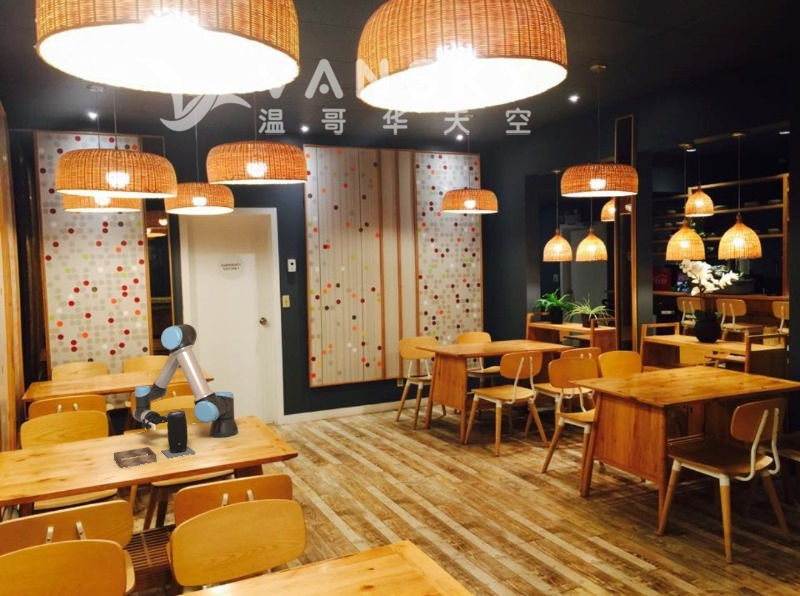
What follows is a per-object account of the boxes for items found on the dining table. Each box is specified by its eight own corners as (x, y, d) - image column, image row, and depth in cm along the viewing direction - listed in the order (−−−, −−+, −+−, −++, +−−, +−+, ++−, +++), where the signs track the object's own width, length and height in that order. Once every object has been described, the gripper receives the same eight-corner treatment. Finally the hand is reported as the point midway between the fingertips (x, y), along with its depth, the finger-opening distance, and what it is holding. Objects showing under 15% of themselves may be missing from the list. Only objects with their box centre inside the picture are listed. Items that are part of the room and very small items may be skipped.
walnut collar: (149, 453, 316) (148, 446, 316) (156, 462, 303) (156, 454, 302) (114, 459, 307) (113, 452, 307) (120, 468, 294) (119, 461, 294)
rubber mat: (188, 447, 325) (187, 446, 325) (195, 454, 314) (195, 452, 314) (161, 452, 318) (161, 450, 318) (167, 459, 307) (167, 457, 307)
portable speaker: (185, 453, 312) (183, 413, 311) (166, 454, 311) (164, 414, 310) (190, 448, 321) (188, 409, 319) (171, 449, 320) (169, 410, 319)
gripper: (174, 420, 347) (191, 427, 332) (127, 429, 330) (143, 437, 315) (173, 407, 347) (191, 413, 331) (126, 415, 329) (143, 422, 314)
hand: (168, 424), depth 323 cm, fingers open, 13 cm apart
